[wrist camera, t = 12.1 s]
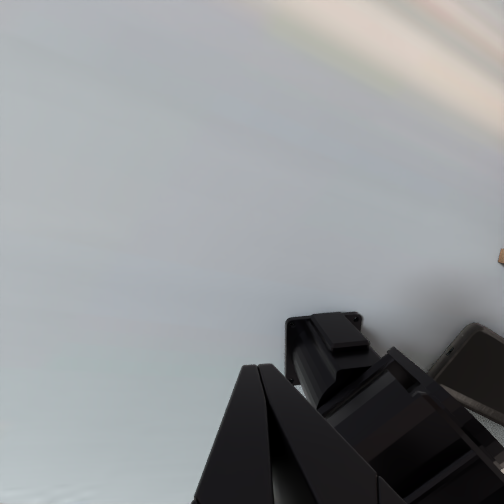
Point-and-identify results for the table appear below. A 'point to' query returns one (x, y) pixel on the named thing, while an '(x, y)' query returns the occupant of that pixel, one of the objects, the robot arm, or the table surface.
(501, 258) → the box
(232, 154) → the table surface
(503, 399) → the phone
